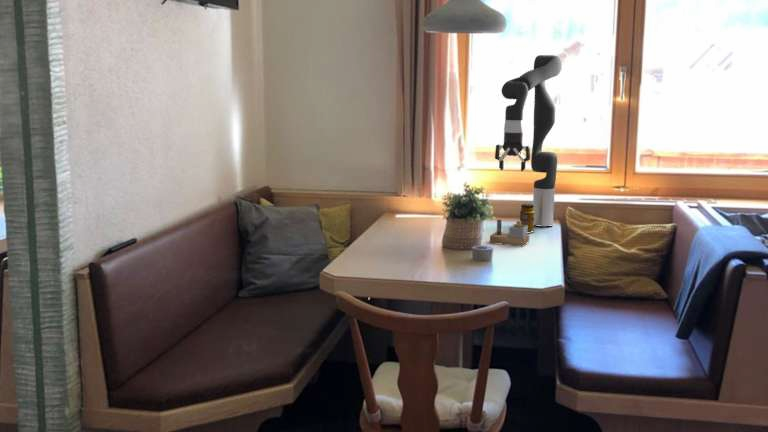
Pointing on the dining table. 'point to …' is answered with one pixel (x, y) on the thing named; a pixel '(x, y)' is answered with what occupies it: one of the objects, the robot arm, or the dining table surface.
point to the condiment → (527, 216)
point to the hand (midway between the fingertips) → (512, 170)
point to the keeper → (507, 236)
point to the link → (518, 231)
